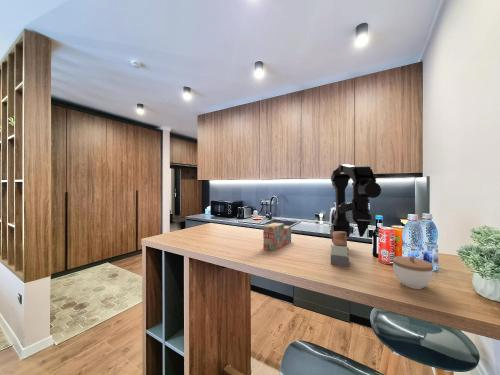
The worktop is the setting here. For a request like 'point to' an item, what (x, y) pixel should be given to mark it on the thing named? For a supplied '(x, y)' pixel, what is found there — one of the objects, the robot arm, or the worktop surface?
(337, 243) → the wooden block
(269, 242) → the stack of blocks
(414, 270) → the lidded jar
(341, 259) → the charcoal base block
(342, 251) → the sage top block
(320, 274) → the worktop surface
